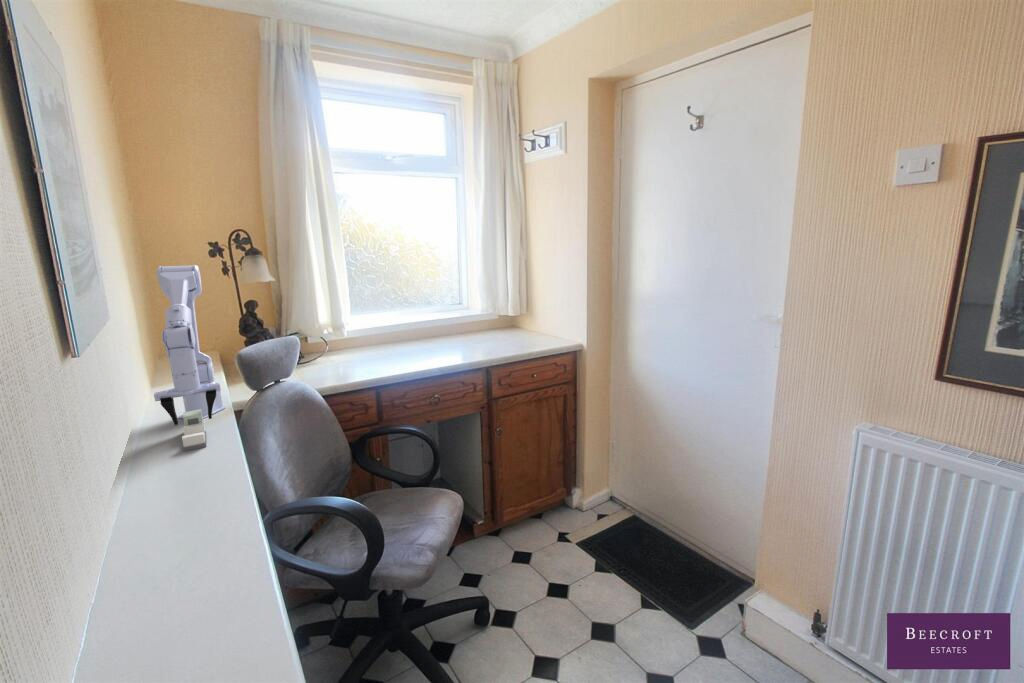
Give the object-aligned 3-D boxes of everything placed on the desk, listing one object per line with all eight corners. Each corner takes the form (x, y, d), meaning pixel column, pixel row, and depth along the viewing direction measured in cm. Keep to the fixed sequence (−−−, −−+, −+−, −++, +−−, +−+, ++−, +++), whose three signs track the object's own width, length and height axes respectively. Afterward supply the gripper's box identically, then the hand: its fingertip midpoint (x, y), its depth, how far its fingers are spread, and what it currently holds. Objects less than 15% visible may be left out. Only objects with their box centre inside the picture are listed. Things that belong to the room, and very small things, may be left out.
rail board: (184, 438, 126) (182, 426, 125) (206, 434, 128) (204, 422, 128) (183, 451, 118) (181, 438, 118) (206, 446, 121) (204, 434, 120)
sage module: (187, 431, 131) (183, 412, 129) (204, 428, 133) (201, 409, 131) (186, 436, 127) (183, 417, 126) (204, 433, 129) (201, 413, 128)
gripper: (149, 380, 119) (159, 432, 122) (217, 371, 127) (225, 419, 130) (151, 374, 125) (161, 423, 128) (216, 365, 132) (224, 411, 135)
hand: (193, 420), depth 129 cm, fingers open, 7 cm apart
